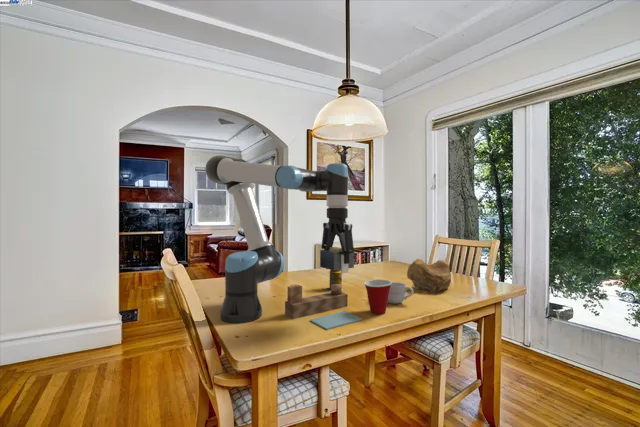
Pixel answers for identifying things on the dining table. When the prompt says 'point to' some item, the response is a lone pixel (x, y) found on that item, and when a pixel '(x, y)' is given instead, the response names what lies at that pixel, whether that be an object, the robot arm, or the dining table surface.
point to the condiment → (335, 278)
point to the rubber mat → (335, 320)
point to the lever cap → (334, 258)
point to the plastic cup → (378, 295)
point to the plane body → (313, 301)
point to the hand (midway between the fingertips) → (336, 270)
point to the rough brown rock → (430, 275)
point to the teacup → (398, 292)
